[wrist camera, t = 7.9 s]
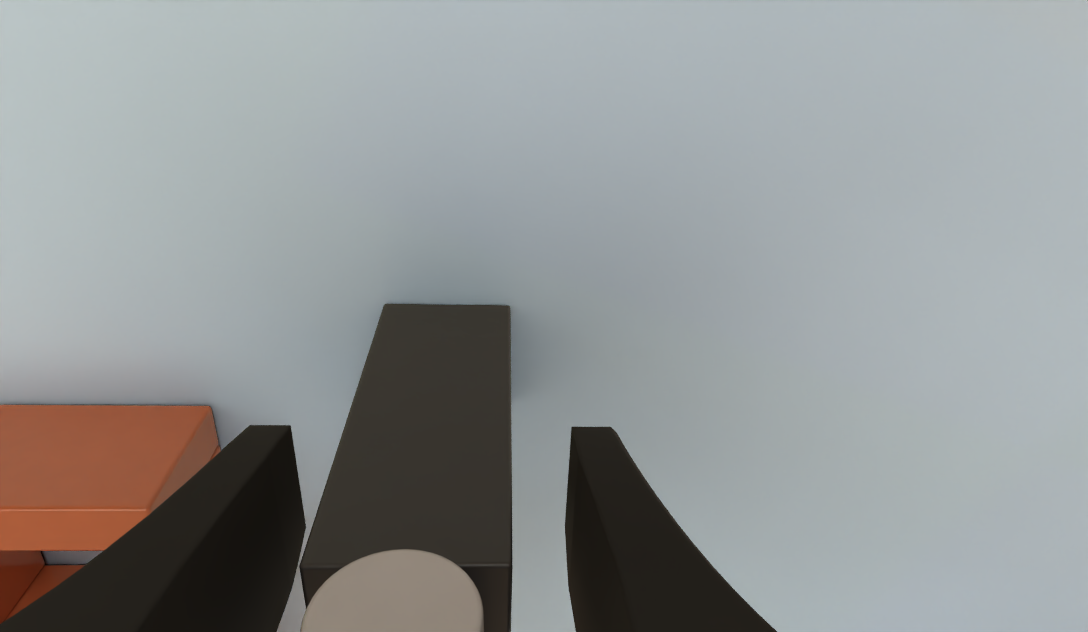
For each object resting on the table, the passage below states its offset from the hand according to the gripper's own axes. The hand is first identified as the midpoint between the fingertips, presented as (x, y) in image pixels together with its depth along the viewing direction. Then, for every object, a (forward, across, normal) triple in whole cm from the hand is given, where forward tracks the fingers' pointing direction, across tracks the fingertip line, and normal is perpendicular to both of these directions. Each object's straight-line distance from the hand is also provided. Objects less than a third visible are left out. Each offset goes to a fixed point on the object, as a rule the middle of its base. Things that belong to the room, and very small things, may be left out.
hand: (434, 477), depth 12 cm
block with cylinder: (+3, 0, 0) cm, 4 cm away
